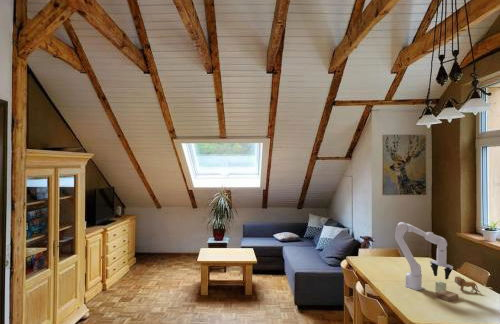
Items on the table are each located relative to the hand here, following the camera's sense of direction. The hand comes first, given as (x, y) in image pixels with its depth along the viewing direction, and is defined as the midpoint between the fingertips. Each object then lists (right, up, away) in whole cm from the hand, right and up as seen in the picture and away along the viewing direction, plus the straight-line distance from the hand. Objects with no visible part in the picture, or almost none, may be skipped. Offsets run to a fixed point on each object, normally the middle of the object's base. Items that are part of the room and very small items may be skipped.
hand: (441, 277), depth 241 cm
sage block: (0, -9, 0) cm, 9 cm away
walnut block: (-3, -10, -12) cm, 15 cm away
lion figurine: (+17, -10, +1) cm, 20 cm away
